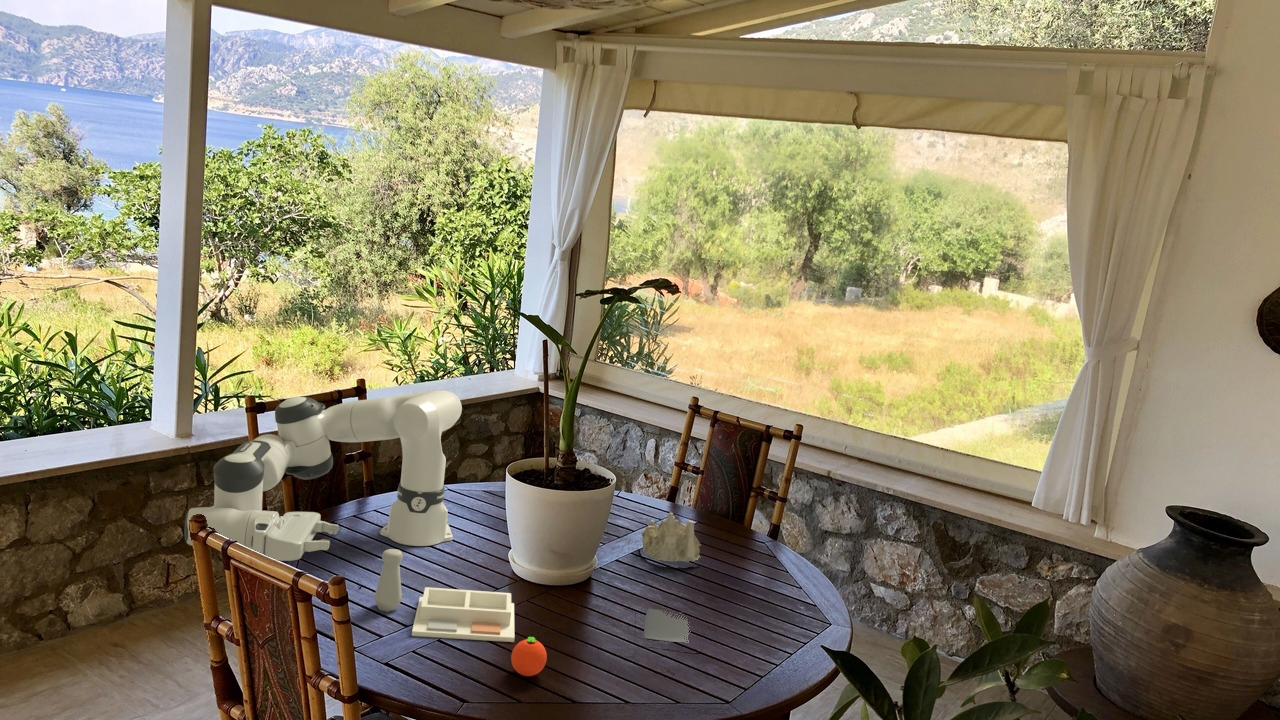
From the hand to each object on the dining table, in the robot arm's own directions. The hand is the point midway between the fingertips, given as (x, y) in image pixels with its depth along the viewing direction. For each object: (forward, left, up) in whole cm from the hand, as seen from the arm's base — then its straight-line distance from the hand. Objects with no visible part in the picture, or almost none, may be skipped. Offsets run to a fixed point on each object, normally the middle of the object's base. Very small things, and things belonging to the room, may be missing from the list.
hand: (333, 537), depth 194 cm
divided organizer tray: (+4, +29, -15) cm, 33 cm away
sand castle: (-44, +83, -16) cm, 95 cm away
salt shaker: (0, +12, -15) cm, 20 cm away
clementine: (+25, +42, -16) cm, 51 cm away
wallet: (+2, +75, -16) cm, 76 cm away
